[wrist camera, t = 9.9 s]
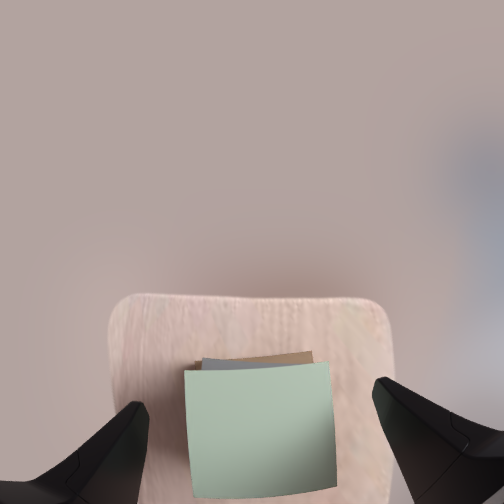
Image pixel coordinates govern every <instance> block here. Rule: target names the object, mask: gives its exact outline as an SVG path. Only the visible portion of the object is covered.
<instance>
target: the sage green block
mask: <svg viewBox="0 0 504 504" xmlns="http://www.w3.org/2000/svg"><path fill="white" fill-rule="evenodd" d="M184 377H185V404H186V422H187V437H188V449H189V460H190V470H191V480H192V488H193V496H194V497H196V498H216V499H243V498H263V497H275V496H284V495H292V494H299V493H306V492H312V491H317V490H322V489H327V488H332V487H336V486H337V465H336V443H335V426H334V412H333V400H332V389H331V379H330V369H329V361H326V362H319V363H311V364H303V365H294V366H284V367H273V368H259V369H242V370H184Z"/></svg>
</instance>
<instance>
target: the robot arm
mask: <svg viewBox="0 0 504 504" xmlns="http://www.w3.org/2000/svg"><path fill="white" fill-rule="evenodd" d="M372 398H373V402H374V405H375V408H376V411H377V414H378V417H379V420H380V423H381V426H382V429H383V431H384V433H385V436H386V438H387V440H388V442H389V444H390V447H391V449H392V451H393V453H394V456H395V458H396V460H397V463H398V465H399V467H400V470H401V472H402V474H403V476H404V479H405V481H406V484H407V486H408V488H409V491H410V493H411V496H412V498H413V500H414V504H504V431H499V430H495V429H492V428H489V427H486V426H483V425H480V424H477V423H475V422H472V421H470V420H467V419H465V418H463V417H461V416H459V415H456V414H454V413H453V412H450V411H449V410H447V409H445V408H443V407H441V406H439V405H437V404H435V403H433V402H432V401H430V400H428V399H426V398H424V397H422V396H420V395H419V394H417V393H415V392H413V391H411V390H409V389H408V388H405V387H404V386H402V385H400V384H399V383H397V382H395V381H393V380H391V379H390V378H388V377H381V378H378V379H376V381H375V384H374V387H373V391H372ZM148 429H149V414H148V412H147V410H146V408H145V406H144V404H143V403H142V402H141V401H132V402H130V403H129V404H128V405H127V406H126V407H125V408H124V409H122V410H121V411H120V412H119V413H118V414H117V415H116V416H115V417H113V418H112V419H111V420H110V421H109V422H108V423H107V424H106V425H105V426H103V427H102V428H101V429H100V430H99V431H98V432H97V433H96V434H94V435H93V436H92V437H91V438H90V439H89V440H87V441H86V442H85V443H84V444H83V445H82V446H81V447H79V448H78V450H76V451H75V452H73V453H72V454H71V455H70V456H68V457H67V458H66V459H65V460H64V461H62V462H61V463H59V464H58V465H56V466H55V467H54V468H52V469H50V470H49V471H47V472H46V473H44V474H42V475H41V476H39V477H37V478H36V479H34V480H31V481H26V482H17V481H16V482H14V481H0V504H137V502H138V496H139V490H140V484H141V478H142V473H143V468H144V463H145V458H146V452H147V442H148Z"/></svg>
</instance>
